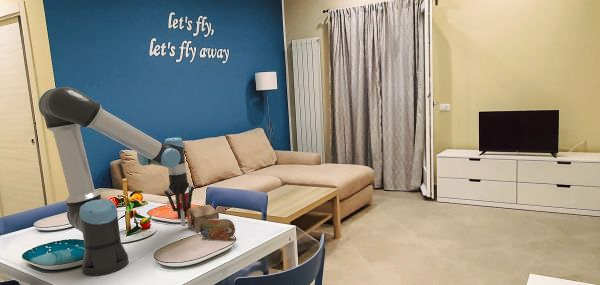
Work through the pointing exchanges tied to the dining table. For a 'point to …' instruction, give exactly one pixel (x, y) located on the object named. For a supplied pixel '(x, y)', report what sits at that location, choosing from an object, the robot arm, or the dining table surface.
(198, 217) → the hitch block
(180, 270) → the dining table surface
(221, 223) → the mottled brown rounded block
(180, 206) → the paper cup
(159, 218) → the dining table surface
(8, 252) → the dining table surface
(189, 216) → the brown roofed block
